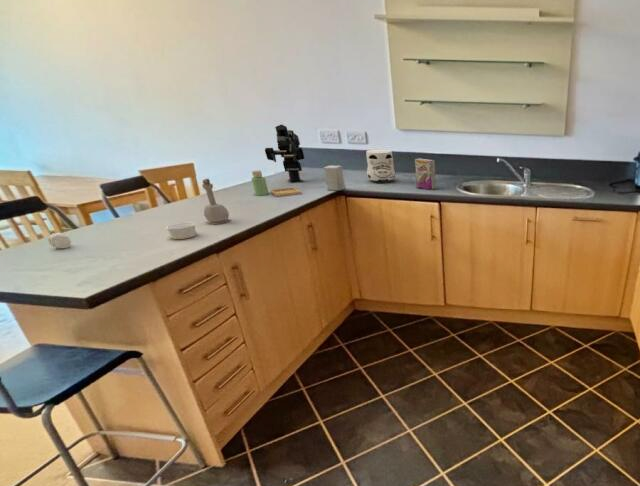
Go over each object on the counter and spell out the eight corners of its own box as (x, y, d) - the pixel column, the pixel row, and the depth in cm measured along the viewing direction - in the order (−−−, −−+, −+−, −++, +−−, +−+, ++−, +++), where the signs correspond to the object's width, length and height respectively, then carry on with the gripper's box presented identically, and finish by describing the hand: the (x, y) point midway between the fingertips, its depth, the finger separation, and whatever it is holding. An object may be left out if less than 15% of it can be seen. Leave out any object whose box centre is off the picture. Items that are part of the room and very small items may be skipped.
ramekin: (170, 235, 162) (166, 224, 160) (197, 231, 167) (193, 220, 165) (170, 241, 156) (166, 230, 154) (198, 237, 161) (195, 226, 159)
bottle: (254, 193, 224) (248, 171, 219) (267, 192, 228) (262, 170, 222) (256, 195, 220) (250, 173, 214) (269, 194, 223) (264, 172, 218)
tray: (271, 192, 228) (270, 189, 227) (295, 189, 235) (294, 187, 234) (276, 196, 220) (275, 194, 219) (300, 193, 226) (300, 191, 226)
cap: (252, 176, 220) (251, 170, 218) (261, 175, 222) (259, 170, 221) (254, 177, 217) (252, 171, 216) (262, 176, 219) (261, 171, 218)
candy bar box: (416, 187, 248) (413, 159, 240) (421, 186, 252) (419, 158, 244) (431, 190, 244) (430, 161, 236) (436, 188, 248) (435, 160, 240)
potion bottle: (235, 220, 181) (223, 178, 173) (216, 225, 174) (202, 182, 166) (220, 217, 184) (207, 176, 175) (201, 223, 176) (187, 180, 168)
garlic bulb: (71, 243, 152) (64, 228, 149) (74, 246, 148) (67, 232, 146) (50, 246, 148) (42, 232, 145) (53, 250, 144) (45, 235, 142)
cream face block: (381, 185, 251) (378, 154, 243) (362, 181, 259) (358, 151, 251) (402, 180, 264) (399, 151, 256) (383, 177, 272) (380, 148, 264)
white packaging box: (345, 188, 242) (342, 165, 236) (339, 190, 235) (336, 167, 230) (333, 187, 242) (329, 165, 237) (327, 190, 236) (323, 167, 230)
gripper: (262, 133, 227) (260, 147, 217) (300, 133, 232) (299, 146, 223) (268, 152, 235) (266, 166, 225) (304, 152, 240) (304, 165, 231)
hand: (284, 161), depth 226 cm, fingers open, 9 cm apart
